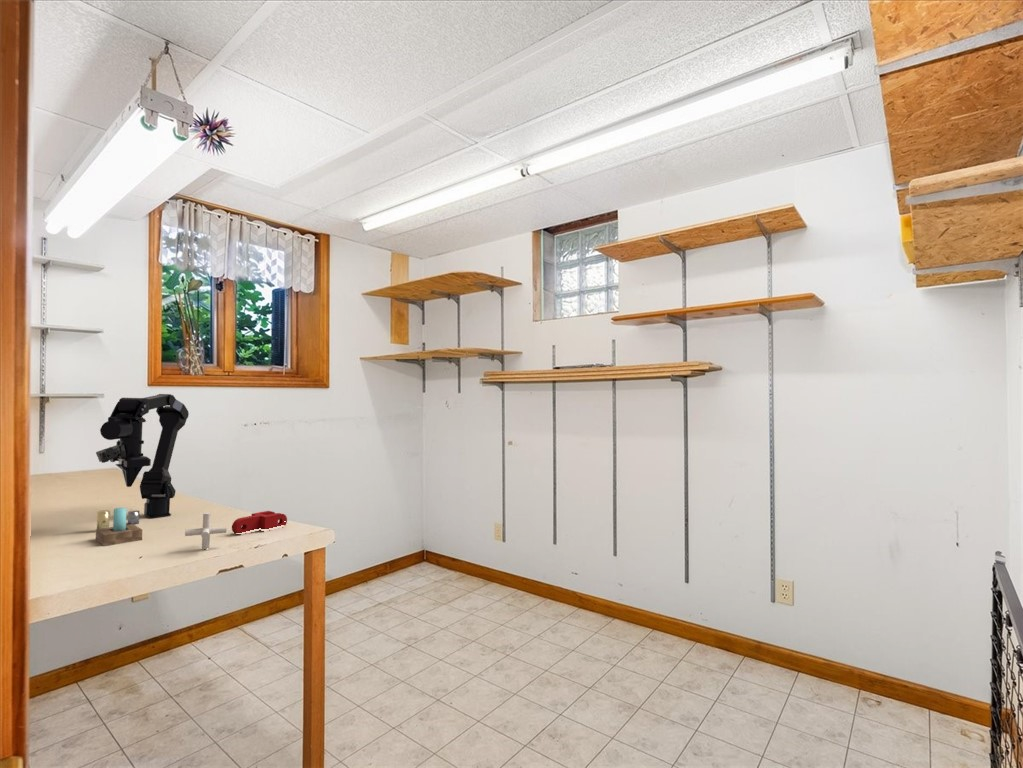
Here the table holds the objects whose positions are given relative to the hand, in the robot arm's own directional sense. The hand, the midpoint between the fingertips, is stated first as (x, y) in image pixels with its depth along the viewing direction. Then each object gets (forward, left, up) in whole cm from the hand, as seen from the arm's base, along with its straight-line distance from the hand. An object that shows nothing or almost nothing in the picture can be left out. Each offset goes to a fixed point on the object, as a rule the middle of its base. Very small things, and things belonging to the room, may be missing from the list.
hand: (128, 486), depth 168 cm
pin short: (-3, -5, -13) cm, 14 cm away
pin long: (+5, +13, -13) cm, 19 cm away
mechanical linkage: (-27, +30, -14) cm, 43 cm away
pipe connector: (-8, +40, -13) cm, 43 cm away
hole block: (+5, +13, -13) cm, 20 cm away
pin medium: (+6, -1, -13) cm, 14 cm away
